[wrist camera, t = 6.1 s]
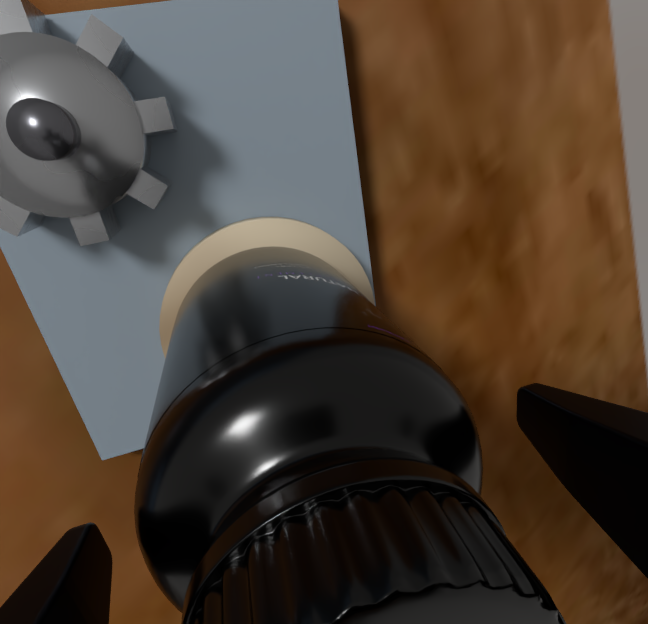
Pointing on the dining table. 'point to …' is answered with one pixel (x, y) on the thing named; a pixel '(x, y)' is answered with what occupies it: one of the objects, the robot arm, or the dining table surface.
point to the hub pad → (249, 237)
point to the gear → (72, 127)
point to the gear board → (194, 184)
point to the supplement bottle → (316, 465)
